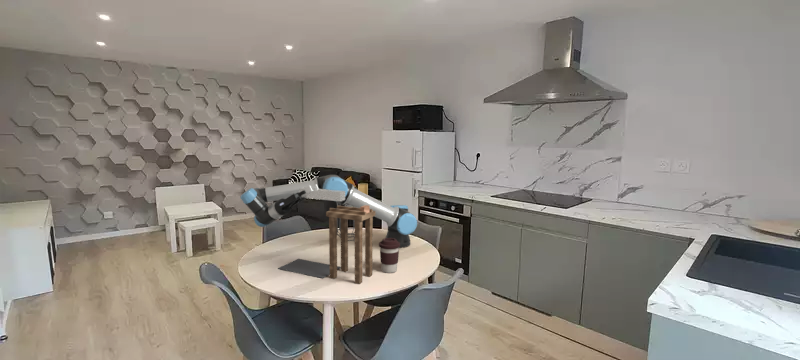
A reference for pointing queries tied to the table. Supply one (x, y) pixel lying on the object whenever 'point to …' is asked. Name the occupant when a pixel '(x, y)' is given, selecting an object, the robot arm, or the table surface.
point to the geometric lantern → (348, 228)
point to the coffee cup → (389, 254)
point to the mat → (308, 268)
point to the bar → (325, 194)
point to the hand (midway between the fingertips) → (314, 187)
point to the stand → (346, 214)
